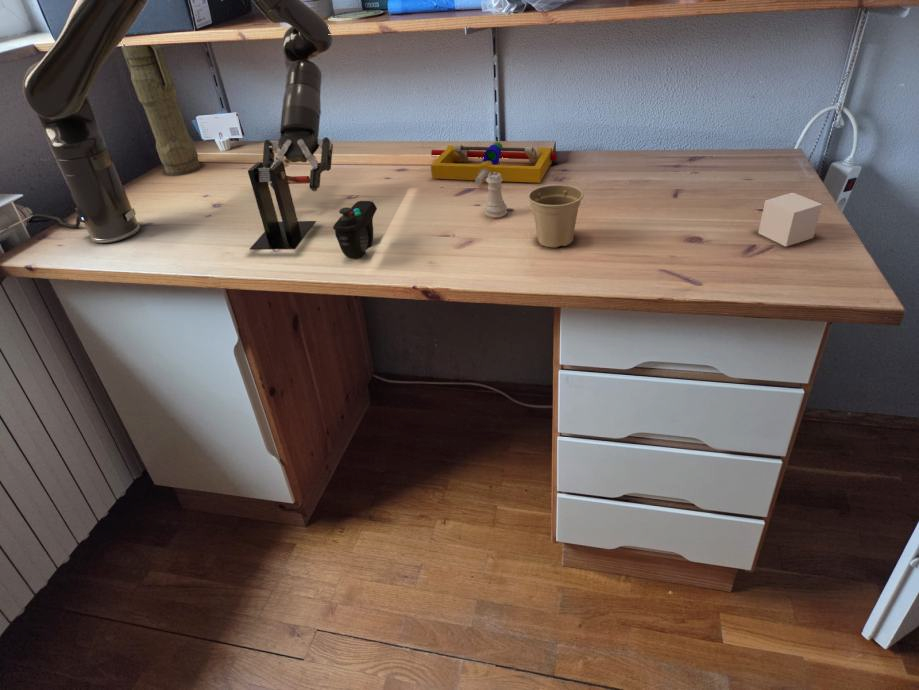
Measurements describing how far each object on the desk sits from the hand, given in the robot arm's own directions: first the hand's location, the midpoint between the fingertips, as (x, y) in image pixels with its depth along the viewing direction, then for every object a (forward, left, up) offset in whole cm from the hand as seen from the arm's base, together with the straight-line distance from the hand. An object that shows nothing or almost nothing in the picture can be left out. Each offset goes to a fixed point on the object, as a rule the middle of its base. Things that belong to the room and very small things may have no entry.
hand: (294, 189), depth 125 cm
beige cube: (+88, +22, -7) cm, 91 cm away
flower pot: (+52, +8, -7) cm, 53 cm away
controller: (+21, -8, -7) cm, 24 cm away
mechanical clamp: (+25, +34, -7) cm, 43 cm away
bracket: (+3, -9, -6) cm, 11 cm away
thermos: (-53, +16, -7) cm, 55 cm away
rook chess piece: (+37, +15, -7) cm, 41 cm away
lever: (+2, -4, +3) cm, 6 cm away
